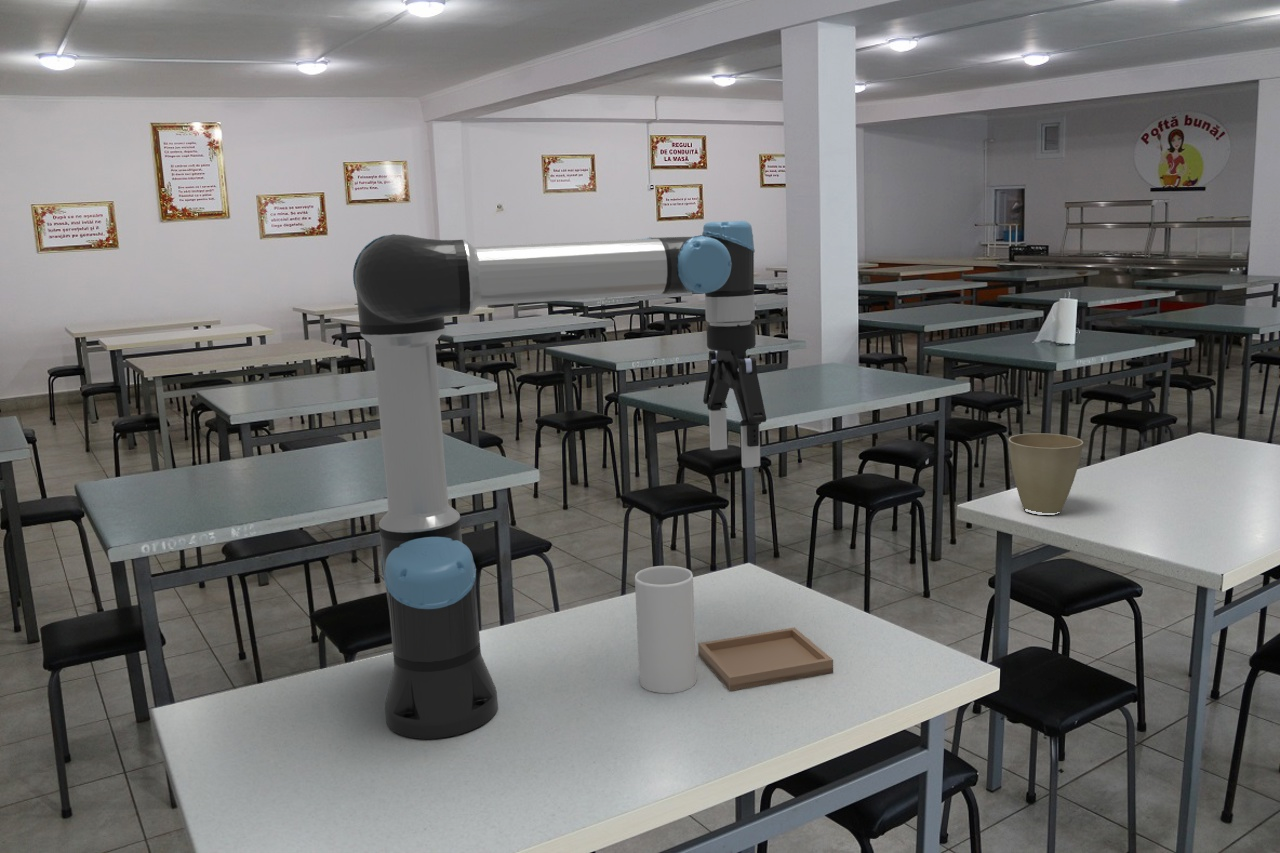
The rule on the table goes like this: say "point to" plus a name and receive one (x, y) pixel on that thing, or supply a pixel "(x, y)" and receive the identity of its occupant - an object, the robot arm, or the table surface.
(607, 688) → the table surface
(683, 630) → the cup
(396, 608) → the robot arm
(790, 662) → the tray
